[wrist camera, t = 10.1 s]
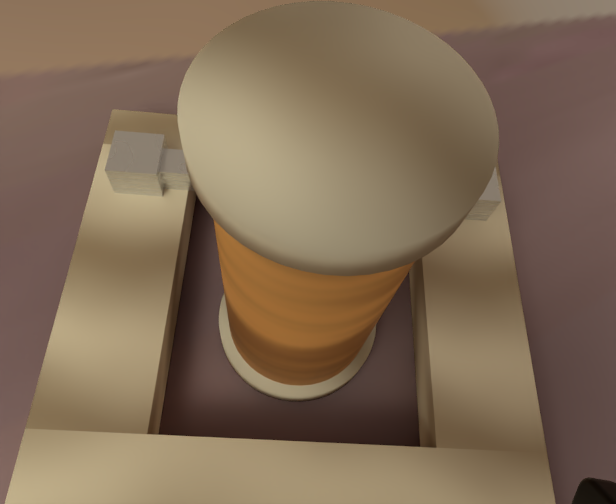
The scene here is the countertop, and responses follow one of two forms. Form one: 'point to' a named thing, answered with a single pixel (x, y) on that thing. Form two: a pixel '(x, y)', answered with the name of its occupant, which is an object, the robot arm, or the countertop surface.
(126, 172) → the cross bar
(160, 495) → the rectangular frame
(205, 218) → the countertop surface
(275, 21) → the cord reel
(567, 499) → the countertop surface
